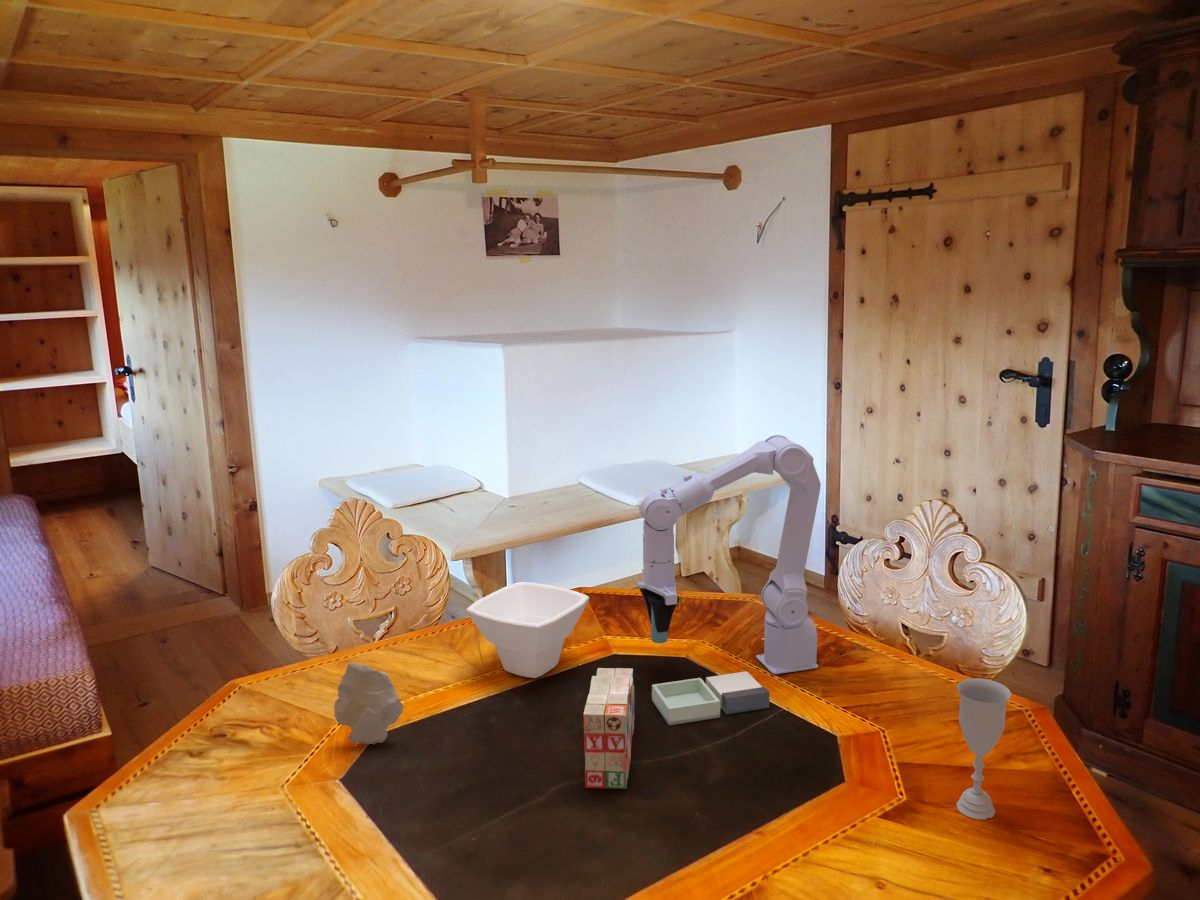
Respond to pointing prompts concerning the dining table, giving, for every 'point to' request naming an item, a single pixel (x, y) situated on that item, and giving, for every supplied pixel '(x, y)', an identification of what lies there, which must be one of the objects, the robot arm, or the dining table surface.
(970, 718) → the chalice
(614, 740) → the stack of blocks
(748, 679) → the pale grey box
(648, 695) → the dining table surface
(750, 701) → the bench dog
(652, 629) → the dowel
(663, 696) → the tray
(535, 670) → the bowl
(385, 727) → the stone tool
